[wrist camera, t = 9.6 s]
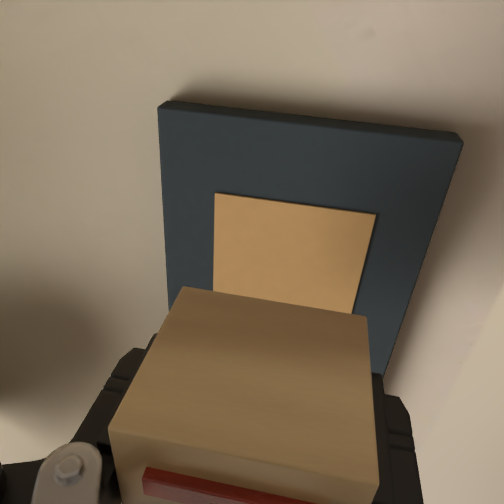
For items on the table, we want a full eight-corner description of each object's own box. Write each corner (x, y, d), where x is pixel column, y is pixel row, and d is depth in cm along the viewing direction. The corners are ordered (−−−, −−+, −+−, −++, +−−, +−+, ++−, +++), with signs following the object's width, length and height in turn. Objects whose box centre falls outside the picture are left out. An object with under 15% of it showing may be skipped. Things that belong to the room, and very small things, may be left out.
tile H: (182, 284, 12) (99, 440, 8) (367, 315, 11) (381, 499, 7) (186, 402, 14) (126, 562, 10) (334, 432, 14) (331, 613, 10)
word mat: (166, 99, 15) (154, 106, 14) (457, 132, 14) (466, 143, 13) (181, 436, 26) (175, 453, 25) (345, 470, 25) (345, 489, 24)
